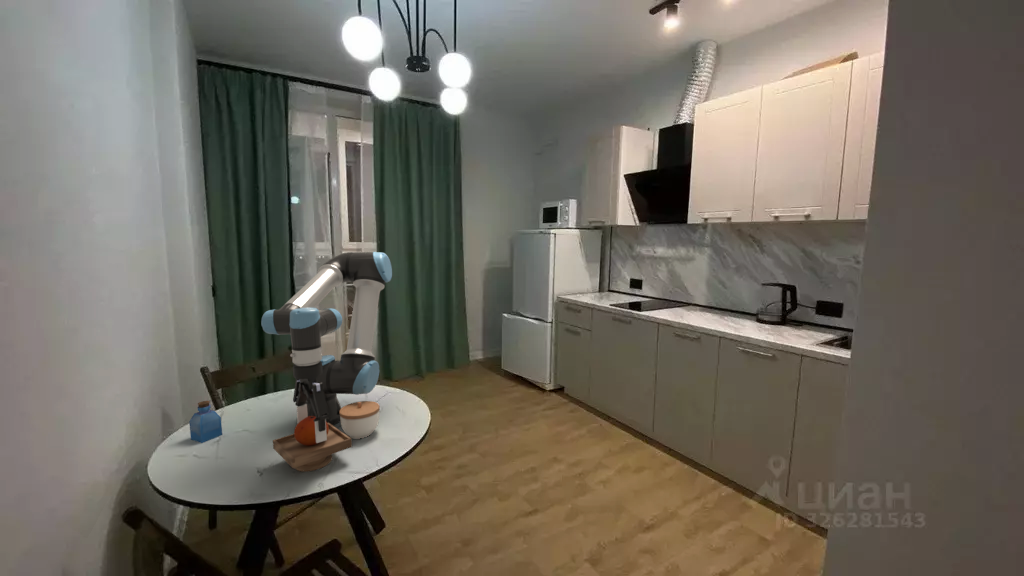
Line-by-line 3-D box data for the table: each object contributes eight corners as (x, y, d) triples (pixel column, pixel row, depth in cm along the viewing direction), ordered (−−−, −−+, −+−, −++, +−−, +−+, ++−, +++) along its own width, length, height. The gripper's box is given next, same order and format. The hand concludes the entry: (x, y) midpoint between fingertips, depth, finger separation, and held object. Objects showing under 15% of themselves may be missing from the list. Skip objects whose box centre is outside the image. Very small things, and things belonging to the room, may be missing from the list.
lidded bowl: (357, 446, 128) (355, 413, 127) (332, 437, 135) (330, 404, 134) (388, 431, 139) (387, 399, 138) (364, 422, 145) (363, 393, 144)
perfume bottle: (222, 435, 137) (219, 400, 136) (201, 443, 131) (198, 407, 130) (211, 431, 139) (208, 397, 138) (190, 439, 134) (187, 404, 133)
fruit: (335, 440, 120) (334, 414, 119) (306, 453, 112) (304, 425, 111) (318, 432, 125) (316, 407, 124) (289, 444, 117) (287, 418, 116)
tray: (274, 463, 119) (272, 440, 118) (329, 443, 130) (328, 422, 129) (294, 484, 108) (292, 459, 107) (352, 461, 119) (351, 438, 118)
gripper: (278, 357, 122) (283, 425, 124) (310, 374, 105) (315, 453, 107) (304, 352, 127) (308, 417, 129) (339, 368, 110) (343, 443, 112)
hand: (311, 433), depth 118 cm, fingers open, 13 cm apart
